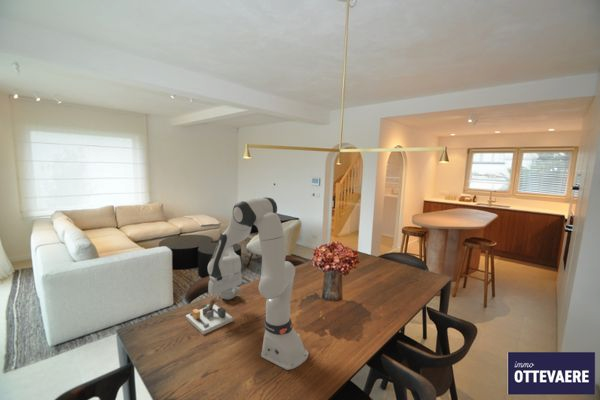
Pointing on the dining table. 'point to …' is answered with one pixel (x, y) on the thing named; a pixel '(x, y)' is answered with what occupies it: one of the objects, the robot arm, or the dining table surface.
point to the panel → (209, 320)
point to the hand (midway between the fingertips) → (225, 296)
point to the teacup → (229, 293)
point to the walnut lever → (211, 304)
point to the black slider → (221, 312)
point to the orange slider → (196, 313)
